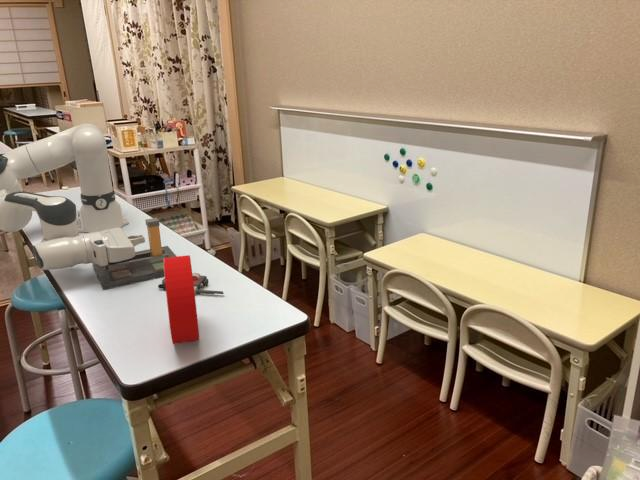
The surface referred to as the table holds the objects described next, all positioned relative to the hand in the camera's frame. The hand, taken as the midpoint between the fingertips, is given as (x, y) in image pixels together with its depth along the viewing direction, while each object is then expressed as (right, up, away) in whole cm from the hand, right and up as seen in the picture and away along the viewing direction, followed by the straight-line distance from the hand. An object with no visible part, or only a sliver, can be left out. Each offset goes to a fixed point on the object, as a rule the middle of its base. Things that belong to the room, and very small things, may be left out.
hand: (143, 238), depth 156 cm
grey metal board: (-3, -10, +2) cm, 10 cm away
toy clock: (+22, -24, -35) cm, 48 cm away
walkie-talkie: (+18, -15, -11) cm, 26 cm away
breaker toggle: (+3, -6, +5) cm, 8 cm away
